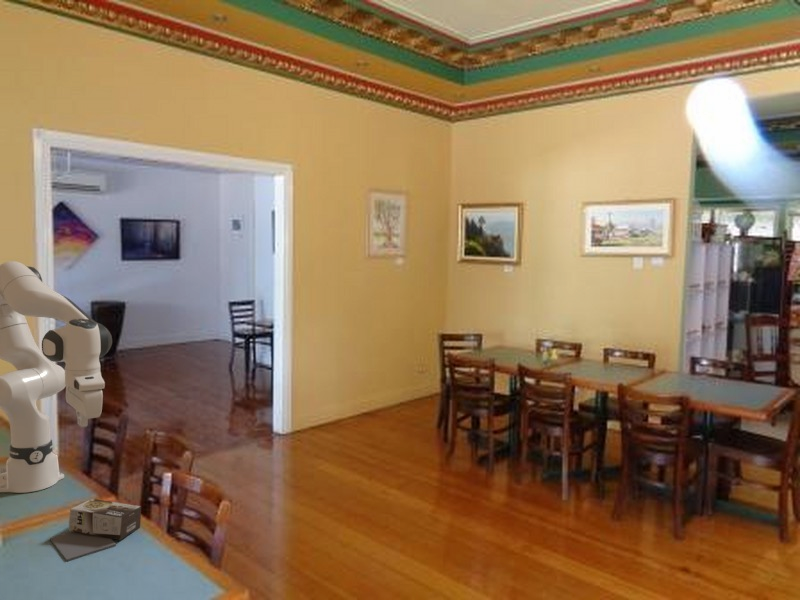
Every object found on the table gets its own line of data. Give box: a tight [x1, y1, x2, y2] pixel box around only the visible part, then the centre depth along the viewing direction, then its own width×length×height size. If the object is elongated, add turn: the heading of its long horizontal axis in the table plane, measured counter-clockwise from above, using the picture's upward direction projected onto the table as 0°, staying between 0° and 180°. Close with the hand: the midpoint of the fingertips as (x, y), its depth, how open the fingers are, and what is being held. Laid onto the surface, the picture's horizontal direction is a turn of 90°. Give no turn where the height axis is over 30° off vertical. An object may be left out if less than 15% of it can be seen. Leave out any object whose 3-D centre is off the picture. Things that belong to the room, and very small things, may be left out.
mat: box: [49, 531, 117, 562], centre depth 161 cm, size 15×12×1 cm
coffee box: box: [68, 498, 142, 541], centre depth 167 cm, size 9×6×16 cm
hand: (82, 425), depth 168 cm, fingers closed
